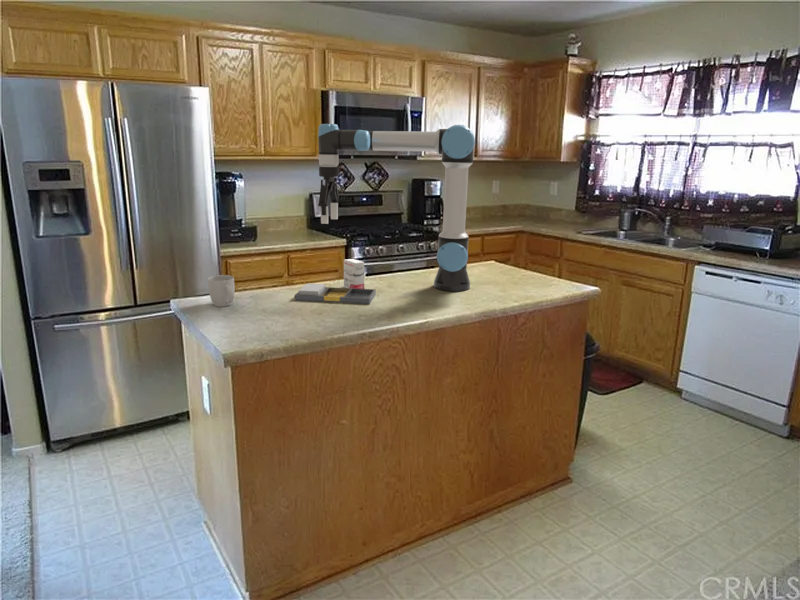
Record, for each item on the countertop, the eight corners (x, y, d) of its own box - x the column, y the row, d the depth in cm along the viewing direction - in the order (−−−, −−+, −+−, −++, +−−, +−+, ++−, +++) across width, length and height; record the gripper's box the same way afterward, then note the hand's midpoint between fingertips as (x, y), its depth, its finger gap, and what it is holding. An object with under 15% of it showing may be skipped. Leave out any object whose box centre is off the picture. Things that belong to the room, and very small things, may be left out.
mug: (205, 303, 201) (203, 277, 199) (229, 299, 207) (227, 273, 205) (221, 311, 192) (219, 284, 190) (244, 307, 198) (243, 280, 195)
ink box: (364, 289, 225) (364, 261, 222) (354, 291, 222) (354, 263, 219) (353, 285, 232) (352, 258, 228) (343, 287, 229) (342, 259, 225)
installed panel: (325, 291, 219) (325, 284, 218) (318, 299, 208) (318, 291, 207) (307, 290, 220) (307, 283, 219) (299, 298, 209) (298, 290, 208)
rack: (375, 294, 218) (375, 289, 218) (369, 304, 205) (369, 298, 204) (305, 291, 221) (305, 285, 221) (294, 300, 208) (294, 294, 207)
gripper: (328, 164, 224) (329, 217, 230) (309, 166, 200) (310, 225, 206) (346, 165, 223) (346, 217, 229) (329, 167, 199) (330, 226, 205)
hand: (329, 221), depth 217 cm, fingers open, 13 cm apart
